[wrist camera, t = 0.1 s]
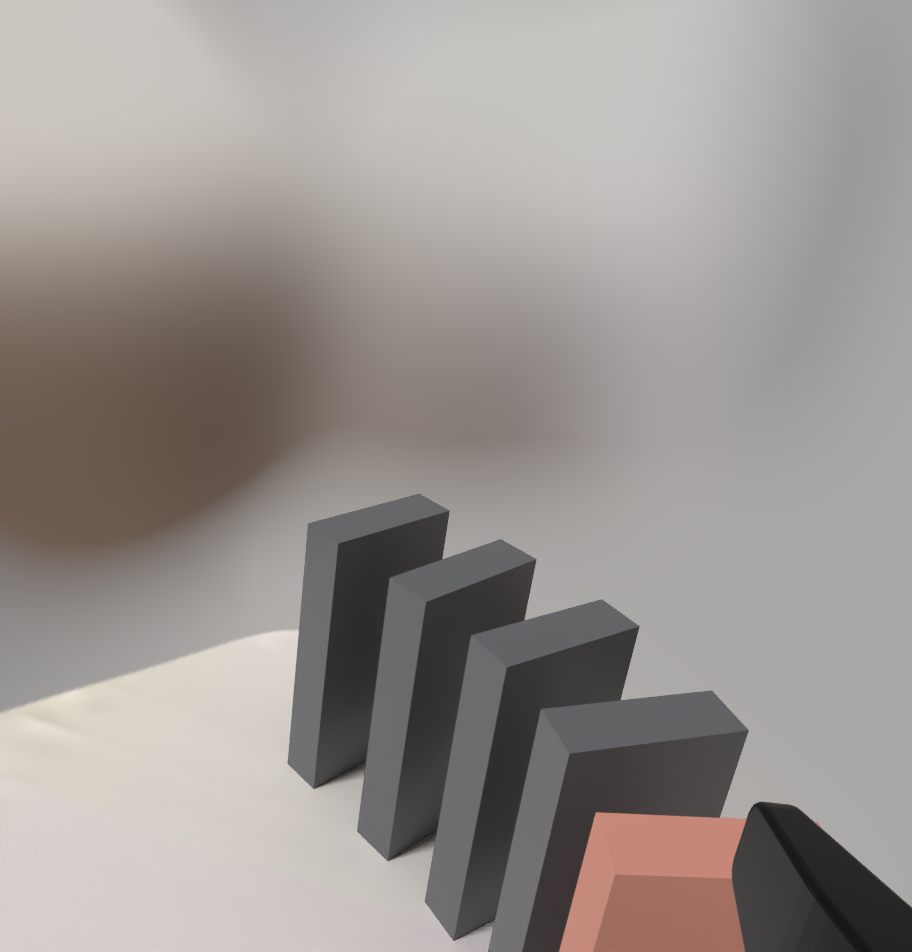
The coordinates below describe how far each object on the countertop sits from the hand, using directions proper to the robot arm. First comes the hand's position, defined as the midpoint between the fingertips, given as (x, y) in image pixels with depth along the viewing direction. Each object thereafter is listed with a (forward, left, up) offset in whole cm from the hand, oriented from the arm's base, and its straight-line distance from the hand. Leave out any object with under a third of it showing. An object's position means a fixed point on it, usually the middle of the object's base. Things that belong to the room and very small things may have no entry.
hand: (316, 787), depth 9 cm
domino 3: (+14, -5, -17) cm, 22 cm away
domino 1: (+20, 0, -17) cm, 26 cm away
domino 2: (+17, -3, -16) cm, 24 cm away
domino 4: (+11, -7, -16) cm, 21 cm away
